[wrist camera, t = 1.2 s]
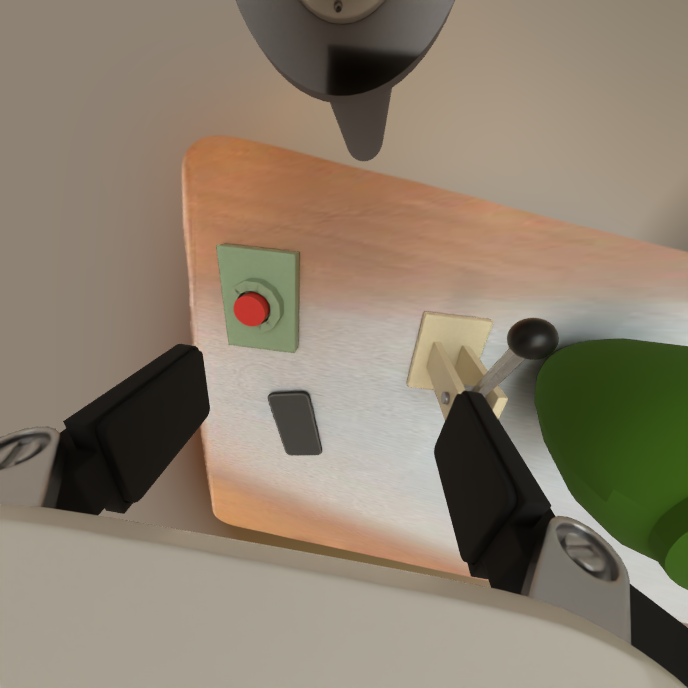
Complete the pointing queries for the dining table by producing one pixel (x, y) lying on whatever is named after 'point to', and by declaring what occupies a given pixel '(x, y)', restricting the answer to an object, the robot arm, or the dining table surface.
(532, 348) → the switch lever
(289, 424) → the smartphone
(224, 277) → the switch box
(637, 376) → the vase
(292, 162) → the dining table surface
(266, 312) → the red stop button
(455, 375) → the switch bracket
